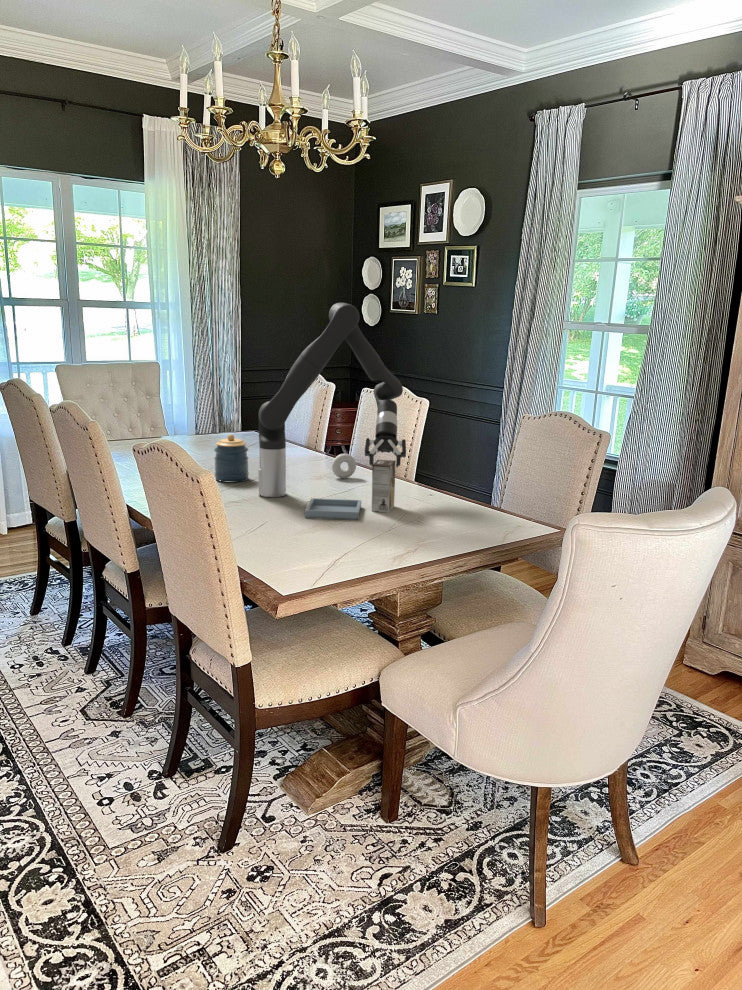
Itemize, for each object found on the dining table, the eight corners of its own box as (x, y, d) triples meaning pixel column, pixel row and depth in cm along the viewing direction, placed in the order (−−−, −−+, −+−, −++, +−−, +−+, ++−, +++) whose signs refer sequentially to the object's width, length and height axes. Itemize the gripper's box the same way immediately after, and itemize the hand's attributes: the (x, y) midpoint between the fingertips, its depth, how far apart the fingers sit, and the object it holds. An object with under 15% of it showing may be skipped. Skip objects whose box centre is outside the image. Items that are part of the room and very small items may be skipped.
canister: (208, 480, 287) (207, 435, 283) (225, 474, 299) (224, 430, 295) (238, 484, 283) (237, 438, 279) (254, 477, 295) (254, 433, 290)
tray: (305, 518, 240) (305, 510, 239) (311, 505, 256) (311, 498, 255) (357, 520, 239) (358, 512, 239) (361, 507, 255) (361, 500, 254)
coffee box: (376, 504, 259) (377, 459, 255) (394, 506, 257) (396, 460, 253) (371, 511, 250) (372, 464, 246) (389, 513, 249) (391, 465, 245)
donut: (333, 479, 294) (333, 454, 291) (330, 478, 297) (330, 453, 294) (357, 478, 297) (357, 453, 295) (354, 476, 300) (354, 452, 298)
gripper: (366, 420, 261) (363, 459, 252) (407, 421, 260) (405, 460, 252) (366, 432, 267) (364, 471, 259) (406, 433, 267) (405, 472, 258)
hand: (384, 465), depth 255 cm, fingers open, 8 cm apart
